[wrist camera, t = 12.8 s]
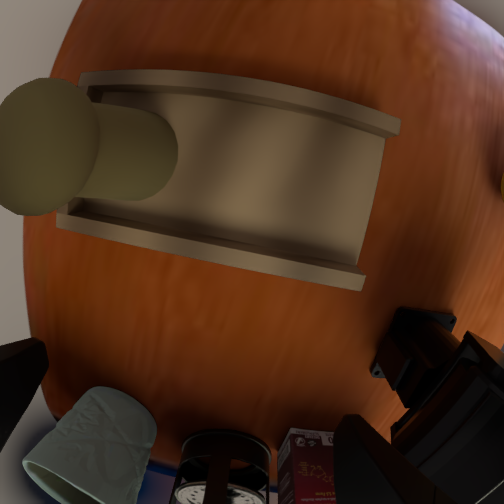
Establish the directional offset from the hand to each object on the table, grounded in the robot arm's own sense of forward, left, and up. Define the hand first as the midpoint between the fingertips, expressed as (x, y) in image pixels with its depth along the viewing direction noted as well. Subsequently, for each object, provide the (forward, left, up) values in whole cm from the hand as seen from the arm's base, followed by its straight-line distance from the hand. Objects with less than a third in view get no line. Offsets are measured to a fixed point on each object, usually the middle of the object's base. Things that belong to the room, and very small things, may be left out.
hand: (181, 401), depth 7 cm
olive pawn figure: (+7, -6, -12) cm, 15 cm away
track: (+2, -6, -13) cm, 14 cm away
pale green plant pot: (+9, +19, -13) cm, 25 cm away
